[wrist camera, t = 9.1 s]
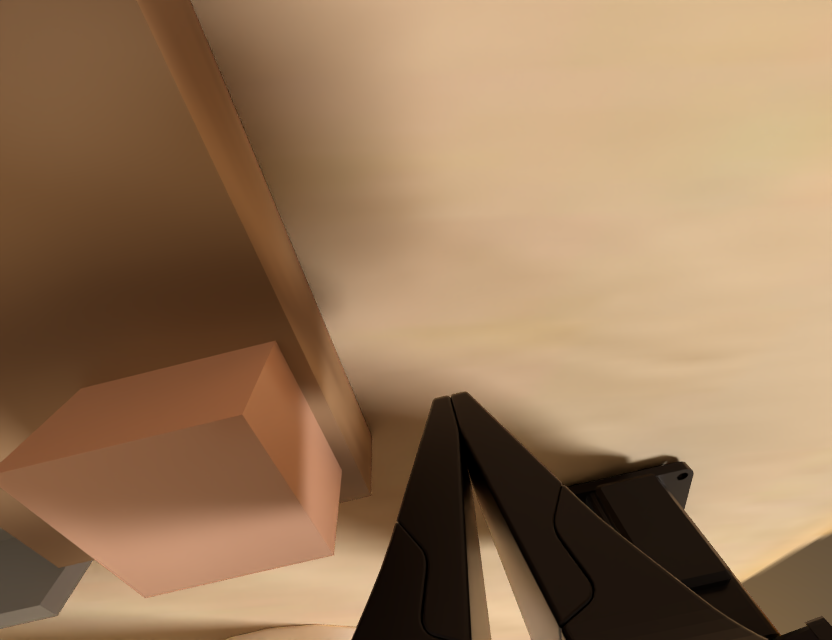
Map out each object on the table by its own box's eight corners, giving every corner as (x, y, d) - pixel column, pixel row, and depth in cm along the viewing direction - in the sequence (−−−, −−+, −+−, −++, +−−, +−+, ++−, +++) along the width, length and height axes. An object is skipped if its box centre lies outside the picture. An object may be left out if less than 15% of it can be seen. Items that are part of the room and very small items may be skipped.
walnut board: (372, 437, 14) (371, 495, 12) (106, 500, 14) (58, 568, 12) (143, -112, 7) (30, -222, 4) (-397, 43, 7) (-744, 11, 5)
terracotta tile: (342, 470, 11) (334, 555, 9) (189, 506, 11) (145, 597, 9) (275, 340, 9) (242, 414, 7) (80, 388, 9) (-15, 476, 7)
